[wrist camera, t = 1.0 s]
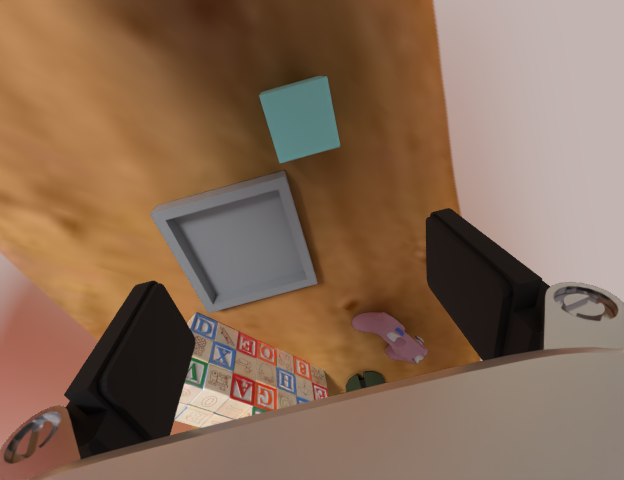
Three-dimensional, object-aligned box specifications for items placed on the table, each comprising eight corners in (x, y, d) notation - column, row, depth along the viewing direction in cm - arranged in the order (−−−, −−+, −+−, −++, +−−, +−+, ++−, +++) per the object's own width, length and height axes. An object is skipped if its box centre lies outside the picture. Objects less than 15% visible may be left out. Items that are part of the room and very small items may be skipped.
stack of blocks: (171, 340, 38) (131, 444, 27) (196, 310, 36) (163, 409, 25) (299, 391, 46) (307, 486, 36) (325, 369, 44) (342, 463, 34)
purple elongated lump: (403, 330, 44) (442, 353, 38) (385, 355, 43) (422, 383, 37) (365, 294, 40) (402, 314, 34) (345, 322, 39) (379, 347, 33)
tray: (157, 205, 29) (149, 213, 27) (284, 170, 29) (285, 176, 27) (211, 301, 35) (208, 313, 34) (315, 273, 35) (317, 283, 33)
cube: (261, 91, 25) (258, 95, 21) (317, 75, 25) (327, 76, 21) (278, 149, 28) (279, 163, 23) (330, 135, 28) (340, 146, 23)
